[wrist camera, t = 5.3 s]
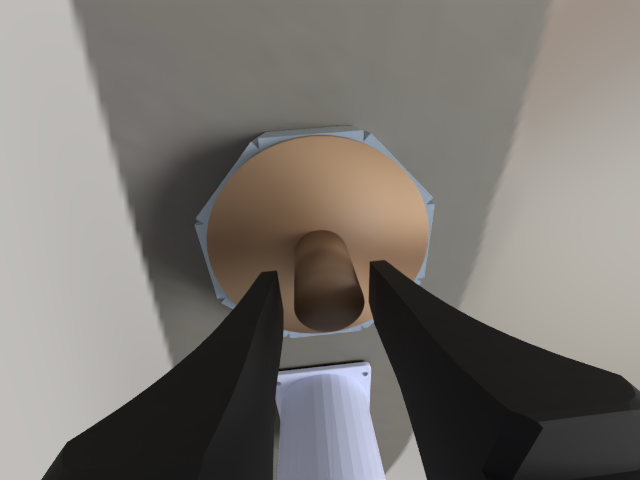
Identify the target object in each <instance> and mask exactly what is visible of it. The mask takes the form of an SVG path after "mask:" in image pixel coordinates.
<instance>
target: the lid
mask: <svg viewBox="0 0 640 480" xmlns="http://www.w3.org/2000/svg"><path fill="white" fill-rule="evenodd" d="M428 238H429V224H428V216H427V212H426V207H425V204H424V202H423V199H422V196H421V194H420V192H419V190H418V189H417V187H416V185H415V183H414V182H413V180H412V179H411V178H410V177H409V175H408V174H407V173H406V172H405V171H404V170H403V169H402V168H401V167H400V166H399V165H398V164H397V163H396V162H395V161H394V160H392V159H391V158H389V157H388V156H386V155H385V154H383V153H382V152H380V151H378V150H377V149H375V148H373V147H370V146H368V145H366V144H364V143H362V142H359V141H356V140H353V139H349V138H346V137H340V136H333V135H308V136H301V137H295V138H292V139H288V140H284V141H281V142H279V143H276V144H274V145H272V146H270V147H267V148H265V149H264V150H262V151H260V152H259V153H257V154H256V155H254V156H252V157H251V158H250V159H249V160H248V161H247V162H245V163H244V164H243V165H242V166H241V167H240V168H239V169H238V170H237V171H236V172H235V173H234V174H233V176H232V177H231V178H230V179H229V180H228V181H227V182H226V184H225V185H224V187H223V188H222V190H221V191H220V193H219V195H218V196H217V198H216V201H215V203H214V205H213V207H212V210H211V214H210V217H209V221H208V228H207V252H208V257H209V261H210V265H211V268H212V270H213V273H214V275H215V277H216V279H217V281H218V283H219V285H220V286H221V288H222V289H223V291H224V292H225V293H226V295H227V296H228V297H229V298H230V299H231V300H232V301H233V302H234V303H235V304H236V305H237V304H238V303H239V301H240V300H241V299H242V298H243V296H244V295H245V294H246V292H247V291H248V290H249V288H250V287H251V285H252V284H253V283H254V281H255V280H256V278H257V277H258V276H259V274H260V273H261V272H266V271H276V270H277V273H278V279H279V285H280V291H281V297H282V303H283V309H284V330H286V331H291V332H298V333H311V334H315V333H329V332H336V331H340V330H345V329H349V328H352V327H354V326H357V325H360V324H362V323H365V322H367V321H369V320H371V319H373V316H372V313H371V309H370V305H369V266H370V261H379V260H385V261H387V262H388V263H390V264H391V265H392V266H394V267H395V268H396V269H398V270H399V271H400V272H401V273H403V274H404V275H405V276H407V277H408V278H409V279H411V280H412V281H414V280H415V278H416V277H417V275H418V273H419V271H420V269H421V267H422V264H423V261H424V259H425V255H426V251H427V247H428Z"/></svg>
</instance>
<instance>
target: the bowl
mask: <svg viewBox="0 0 640 480" xmlns="http://www.w3.org/2000/svg"><path fill="white" fill-rule="evenodd" d="M308 135H333V136H340V137H346V138H349V139H353V140H356V141H359V142H362V143H364V144H366V145H368V146H370V147H373V148H375V149H377V150H378V151H380V152H382V153H383V154H385V155H386V156H388V157H389V158H391V159H392V160H394V161H395V162H396V163H397V164H398V165H399V166H400V167H401V168H402V169H403V170H404V171H405V172H406V173H407V174H408V175H409V177H410V178H411V179H412V180H413V182H414V183H415V185H416V187H417V189H418V190H419V192H420V194H421V196H422V199H423V202H424V204H425V207H426V212H427V216H428V224H429V238H428V247H427V251H426V255H425V259H424V261H423V264H422V267H421V269H420V271H419V273H418V275H417V277H416V278H415V280H414V282H415V283H416V284H418V285H419V284H420V283H421V282H420V280H419V279H418V278H424V276H425V269H426V262H427V255H428V248H429V242H430V235H431V228H432V221H433V214H434V208H435V203H433V202H432V201H430V200H431V199H432V198H433V197H432V196H431V195H430V194H429V193H428V192H427V191H426V190H425V189H424V188H423V186H422V185H421V184H420V183H419V182H418V181H417V180H416V179H415V178H414V177H413V176H412V175H411V174H410V173H409V172H408V171H407V170H406V169H405V168H404V167H403V166H402V165H401V164H400V163H399V162H398V161H397V159H396V158H395V157H394V156H393V155H392V154H391V153H390V152H389V151H388V150H387V149H386V148H385V147H384V146H383V145H382V144H381V143H380V142H379V141H378V140H377V139H376V138H375V137H374V136H373V135H372V133H370V132H367V131H364V130H362V129H359V128H356V127H353V126H351V125H347V126H334V127H320V128H307V129H294V130H281V131H267V132H265V133H264V134H262V135H259V136H258V137H257V138H255V139H254V140H253V141H252V142H250V144H249V145H248V146H247V148H246V149H245V151H244V152H243V153H242V155H241V156H240V158H239V159H238V160H237V162H236V163H235V164H234V166H233V167H232V169H231V170H230V171H229V173H228V174H227V176H226V177H225V178H224V180H223V181H222V182H221V184H220V185H219V187H218V188H217V189H216V191H215V192H214V194H213V195H212V196H211V198H210V199H209V200H208V202H207V203H206V205H205V206H204V207H203V209H202V210H201V212H200V213H199V214H198V216H197V217H196V218H195V219H197V220H198V222H197V223H196V224H195V229H196V232H197V235H198V238H199V241H200V245H201V248H202V251H203V254H204V257H205V261H206V264H207V267H208V270H209V273H210V277H211V280H212V283H213V286H214V289H215V293H216V296H217V299H220V298H223V300H222V302H221V303H222V304H224V305H226V306H228V307H230V308H231V309H234V308H235V307H236V304H235V303H234V302H233V301H232V300H231V299H230V298H229V297H228V296H227V295H226V293H225V292H224V291H223V289H222V288H221V286H220V285H219V283H218V281H217V279H216V277H215V275H214V273H213V270H212V268H211V265H210V261H209V257H208V252H207V228H208V221H209V217H210V214H211V210H212V207H213V205H214V203H215V201H216V198H217V196H218V195H219V193H220V191H221V190H222V188H223V187H224V185H225V184H226V182H227V181H228V180H229V179H230V178H231V177H232V176H233V174H234V173H235V172H236V171H237V170H238V169H239V168H240V167H241V166H242V165H243V164H244V163H245V162H247V161H248V160H249V159H250V158H251V157H252V156H254V155H256V154H257V153H259V152H260V151H262V150H264V149H265V148H267V147H270V146H272V145H274V144H276V143H279V142H281V141H284V140H288V139H292V138H295V137H301V136H308ZM373 322H374V320H373V319H371V320H369V321H367V322H365V323H362V324H360V325H357V326H354V327H352V328H349V329H345V330H340V331H336V332H329V333H315V334H311V333H298V332H291V331H286V330H283V337H286V336H287V335H288V334H289V333H290V338H297V337H306V336H315V335H324V334H334V333H343V332H352V331H361V325H362V326H363V327H365V328H367V327H369V326H370V325H371V324H372V323H373Z"/></svg>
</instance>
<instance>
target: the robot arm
mask: <svg viewBox="0 0 640 480" xmlns="http://www.w3.org/2000/svg"><path fill="white" fill-rule="evenodd" d="M369 305H370V309H371V313H372V316H373V320H374V324H375V326H376V329H377V331H378V334H379V336H380V338H381V341H382V343H383V346H384V348H385V351H386V353H387V355H388V358H389V360H390V363H391V365H392V367H393V370H394V372H395V375H396V377H397V380H398V383H399V385H400V388H401V391H402V395H403V398H404V401H405V404H406V408H407V411H408V414H409V418H410V421H411V424H412V428H413V431H414V435H415V438H416V441H417V445H418V448H419V452H420V456H421V459H422V463H423V466H424V470H425V473H426V477H427V480H640V391H639V390H638V389H637V388H635V387H634V386H633V385H632V384H631V383H629V382H628V381H627V380H626V379H624V378H623V377H622V376H621V375H618V374H615V373H612V372H609V371H606V370H603V369H600V368H597V367H594V366H591V365H588V364H585V363H581V362H579V361H575V360H573V359H570V358H566V357H564V356H561V355H558V354H555V353H552V352H550V351H547V350H545V349H542V348H540V347H537V346H534V345H531V344H529V343H527V342H524V341H521V340H519V339H517V338H515V337H512V336H510V335H508V334H505V333H503V332H501V331H499V330H496V329H495V328H492V327H490V326H488V325H486V324H484V323H482V322H480V321H478V320H476V319H474V318H472V317H470V316H468V315H466V314H465V313H463V312H461V311H459V310H457V309H455V308H454V307H452V306H450V305H448V304H447V303H445V302H444V301H442V300H440V299H439V298H437V297H436V296H434V295H432V294H431V293H429V292H428V291H426V290H425V289H423V288H422V287H421V286H419V285H418V284H416V283H415V282H414V281H412V280H411V279H409V278H408V277H407V276H405V275H404V274H403V273H401V272H400V271H399V270H398V269H396V268H395V267H394V266H392V265H391V264H390V263H388V262H387V261H385V260H379V261H370V266H369ZM283 330H284V309H283V303H282V297H281V291H280V285H279V279H278V273H277V270H276V271H266V272H261V273H260V274H259V276H258V277H257V278H256V280H255V281H254V283H253V284H252V285H251V287H250V288H249V290H248V291H247V292H246V294H245V295H244V296H243V298H242V299H241V300H240V301H239V303H238V304H237V305H236V307H235V308H234V309H233V310H232V311H231V312H230V314H229V315H228V316H227V317H226V318H225V319H224V321H223V322H222V323H221V324H220V325H219V326H218V327H217V328H216V329H215V330H214V332H213V333H212V334H211V335H210V336H209V337H208V338H207V339H206V340H205V341H203V342H202V343H201V344H200V345H199V346H198V347H197V348H196V349H195V350H194V351H193V352H192V353H190V354H189V355H188V356H187V357H186V358H184V359H183V360H182V361H181V362H180V363H179V364H177V365H176V366H175V367H174V368H173V369H171V370H170V371H169V372H168V373H167V374H165V375H164V376H163V377H162V378H160V379H159V380H158V381H156V382H155V383H154V384H152V385H151V386H150V387H148V388H147V389H146V390H144V391H143V392H142V393H140V394H139V395H137V396H136V397H135V398H133V399H132V400H131V401H129V402H128V403H126V404H125V405H123V406H122V407H121V408H119V409H118V410H116V411H115V412H113V413H112V414H110V415H108V416H107V417H106V418H104V419H102V420H101V421H99V422H98V423H96V424H95V425H93V426H92V427H91V428H89V429H87V430H86V431H84V432H83V433H81V434H80V435H78V436H76V437H75V438H73V439H72V440H70V441H68V442H67V443H66V445H65V446H64V448H63V449H62V450H61V452H60V453H59V455H58V456H57V457H56V459H55V461H54V462H53V463H52V465H51V466H50V468H49V469H48V471H47V472H46V474H45V475H44V476H43V478H42V480H273V447H274V418H275V400H276V404H277V408H278V413H279V417H280V440H279V459H278V479H277V480H386V479H385V475H384V471H383V466H382V462H381V458H380V454H379V450H378V445H377V441H376V437H375V433H374V429H373V424H372V420H371V416H370V412H369V405H370V379H371V367H370V364H369V363H368V362H358V363H349V364H340V365H331V366H323V367H314V368H305V369H296V370H287V371H279V365H280V357H281V349H282V341H283Z"/></svg>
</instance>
